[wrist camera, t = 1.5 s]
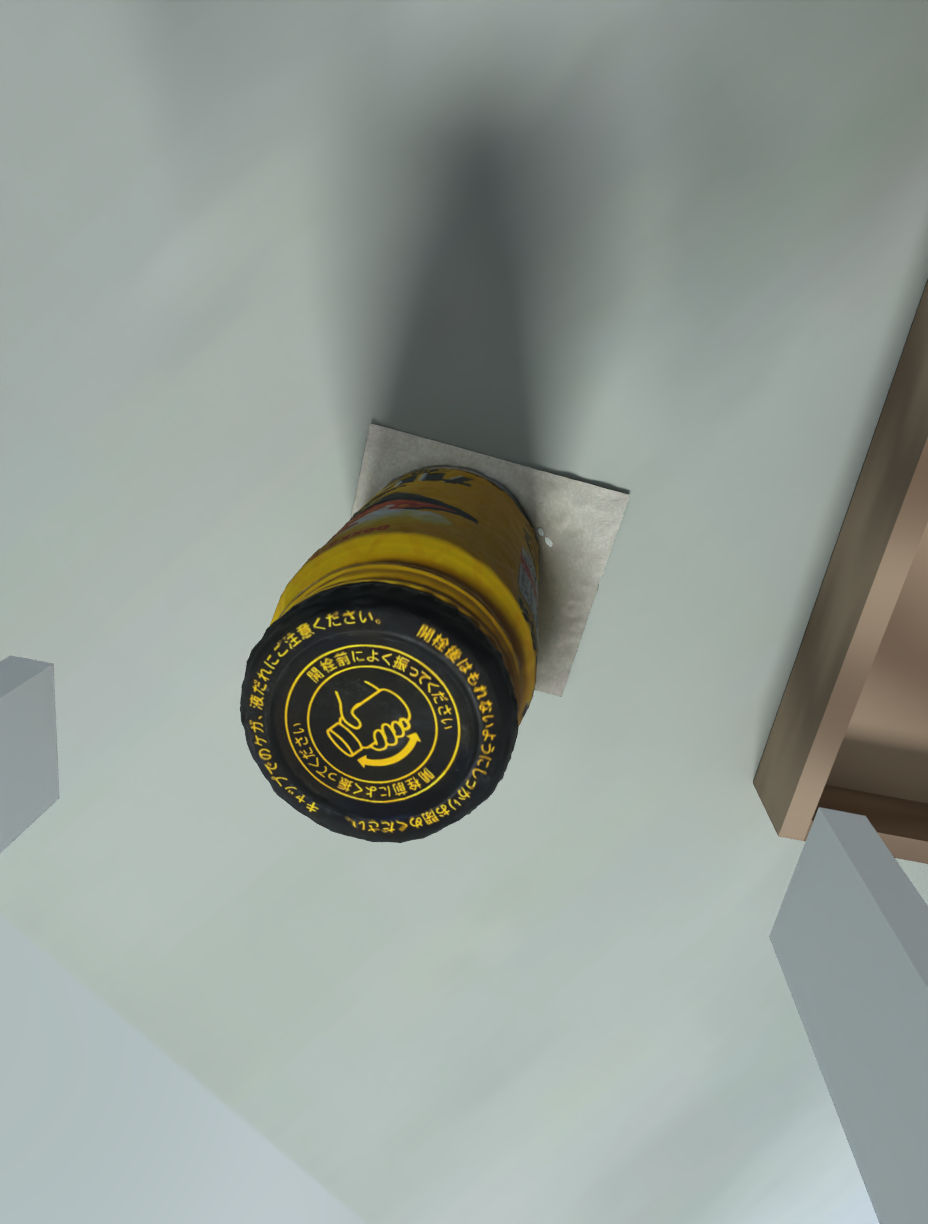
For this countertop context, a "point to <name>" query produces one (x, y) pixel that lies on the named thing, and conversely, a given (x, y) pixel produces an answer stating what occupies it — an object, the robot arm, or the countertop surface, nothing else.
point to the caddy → (867, 646)
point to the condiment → (423, 636)
